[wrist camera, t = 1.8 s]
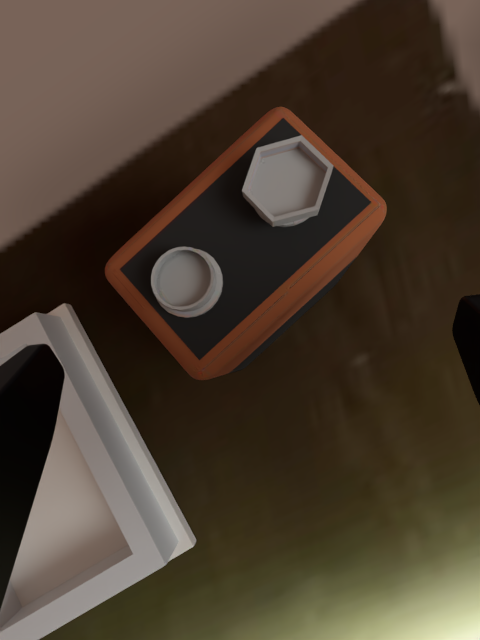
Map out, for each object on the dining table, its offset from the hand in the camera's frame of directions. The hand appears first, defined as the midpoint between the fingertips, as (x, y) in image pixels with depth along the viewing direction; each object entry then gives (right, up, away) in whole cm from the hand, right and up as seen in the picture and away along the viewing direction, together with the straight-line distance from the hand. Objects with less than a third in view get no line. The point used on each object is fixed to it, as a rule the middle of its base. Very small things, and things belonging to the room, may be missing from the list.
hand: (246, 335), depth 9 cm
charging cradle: (-10, -7, +11) cm, 16 cm away
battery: (+1, +2, +11) cm, 11 cm away
